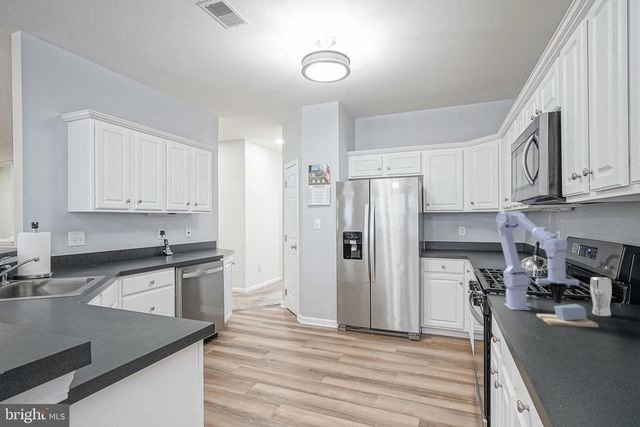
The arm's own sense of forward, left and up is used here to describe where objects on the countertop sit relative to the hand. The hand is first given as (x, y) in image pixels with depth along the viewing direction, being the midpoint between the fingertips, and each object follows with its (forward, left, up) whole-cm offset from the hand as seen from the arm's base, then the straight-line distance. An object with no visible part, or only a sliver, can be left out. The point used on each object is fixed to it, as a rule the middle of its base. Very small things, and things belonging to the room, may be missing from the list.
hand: (557, 302), depth 132 cm
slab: (0, 0, -4) cm, 4 cm away
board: (0, +3, -7) cm, 8 cm away
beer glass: (-12, +22, -7) cm, 26 cm away
